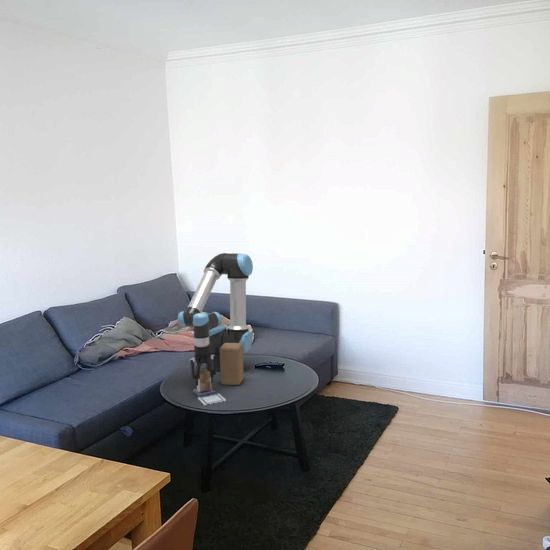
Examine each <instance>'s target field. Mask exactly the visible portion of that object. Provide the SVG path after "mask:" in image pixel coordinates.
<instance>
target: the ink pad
mask: <svg viewBox="0 0 550 550" xmlns="http://www.w3.org/2000/svg"><path fill="white" fill-rule="evenodd" d="M192 393H194V394H195V395H196V396H197V398H199V397H203V396H208V395H214V394H217V392H216V390H215V389H214V388H212V387H211V391H209V392H205V393H201V392H198V391H197V388H195V389H192Z"/></svg>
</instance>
